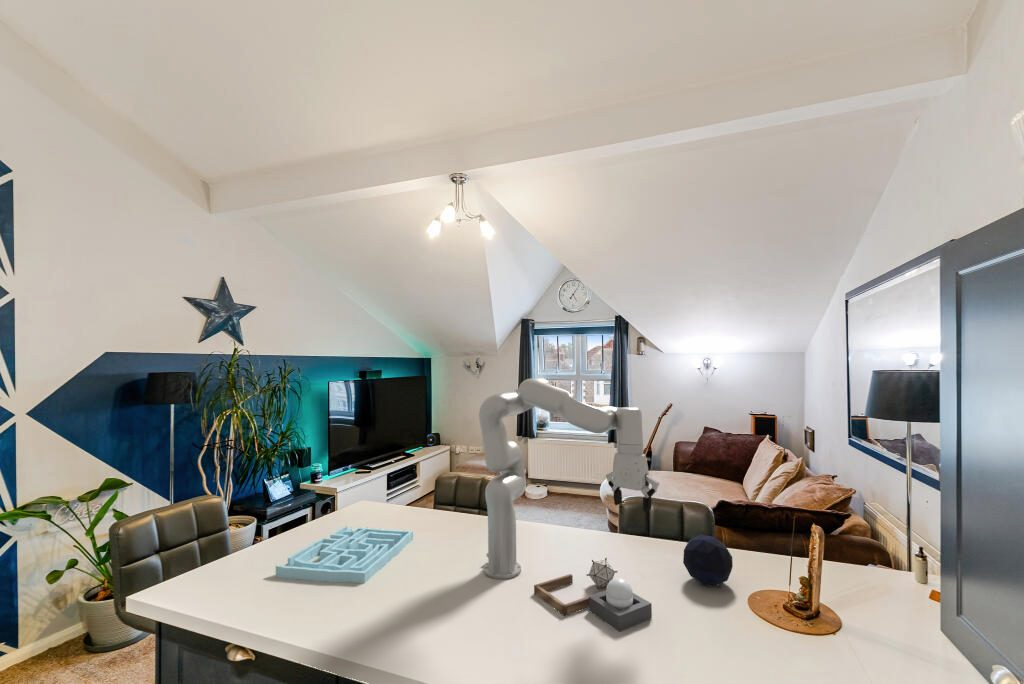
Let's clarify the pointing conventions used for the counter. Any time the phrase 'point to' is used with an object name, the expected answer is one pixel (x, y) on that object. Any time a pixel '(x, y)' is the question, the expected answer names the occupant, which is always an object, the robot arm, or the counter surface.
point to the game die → (601, 573)
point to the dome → (619, 593)
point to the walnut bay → (554, 602)
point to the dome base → (620, 611)
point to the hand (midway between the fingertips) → (632, 507)
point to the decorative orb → (707, 560)
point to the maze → (346, 555)
